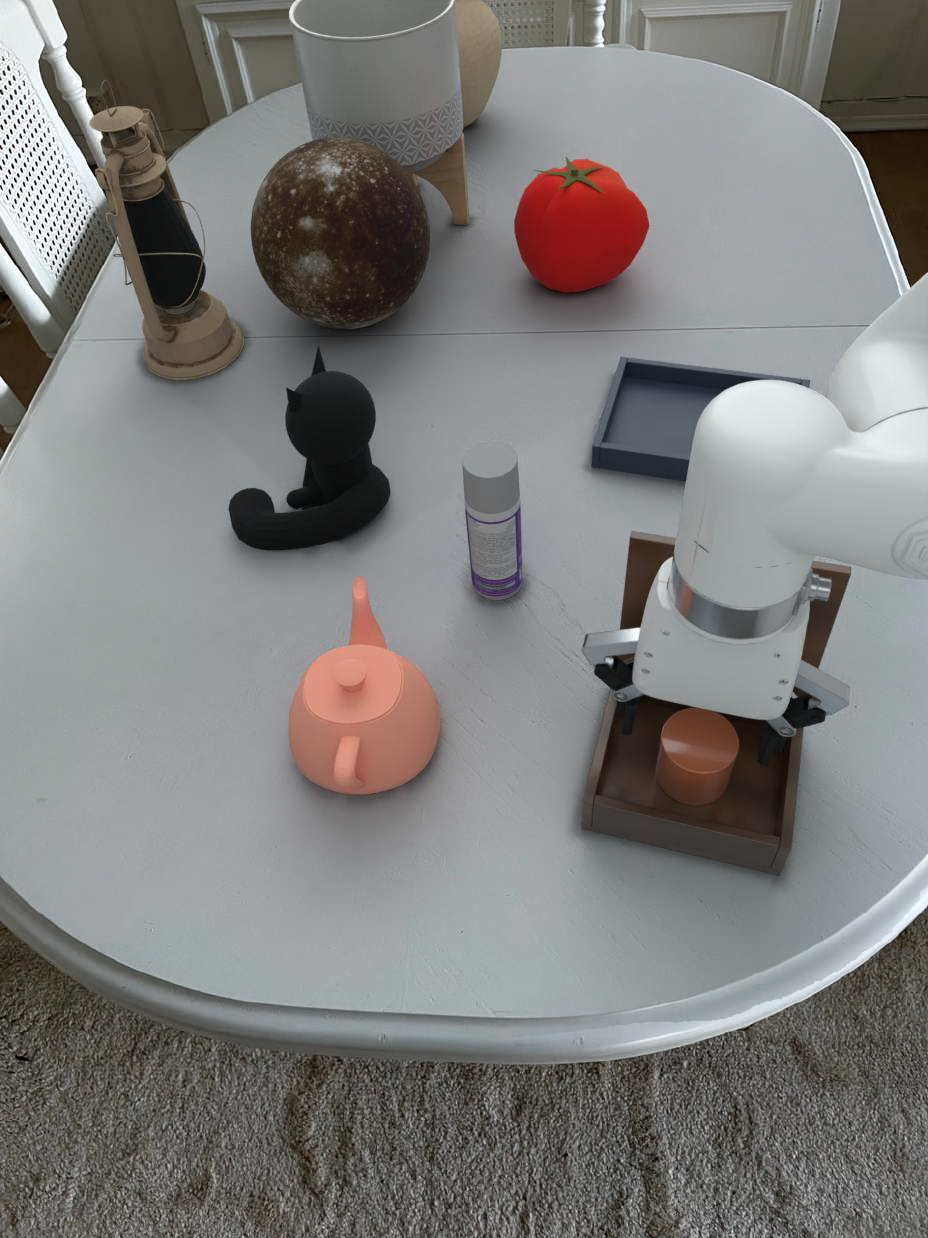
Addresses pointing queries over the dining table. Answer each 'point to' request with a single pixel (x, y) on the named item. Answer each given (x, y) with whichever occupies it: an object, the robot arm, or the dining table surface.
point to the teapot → (363, 712)
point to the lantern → (161, 251)
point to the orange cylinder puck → (696, 756)
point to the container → (493, 518)
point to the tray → (659, 414)
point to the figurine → (320, 469)
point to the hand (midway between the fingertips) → (696, 733)
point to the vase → (477, 55)
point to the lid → (656, 549)
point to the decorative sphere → (340, 233)
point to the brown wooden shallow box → (722, 830)
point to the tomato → (579, 226)
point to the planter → (387, 83)
